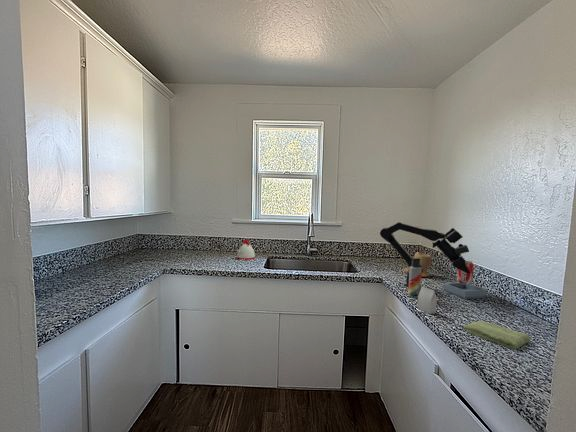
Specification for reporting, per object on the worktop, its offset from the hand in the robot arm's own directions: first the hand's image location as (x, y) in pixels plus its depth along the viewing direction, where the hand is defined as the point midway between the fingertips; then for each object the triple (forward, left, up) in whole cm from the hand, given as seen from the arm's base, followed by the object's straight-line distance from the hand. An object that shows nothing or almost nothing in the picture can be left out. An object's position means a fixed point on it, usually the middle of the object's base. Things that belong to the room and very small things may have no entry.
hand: (468, 271), depth 155 cm
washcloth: (-30, -41, -13) cm, 53 cm away
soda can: (-1, +1, -7) cm, 7 cm away
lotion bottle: (-31, +3, -12) cm, 33 cm away
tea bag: (-38, -15, -12) cm, 43 cm away
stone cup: (+1, +39, -12) cm, 41 cm away
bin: (-1, +1, -12) cm, 12 cm away
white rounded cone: (-105, +106, -13) cm, 150 cm away
